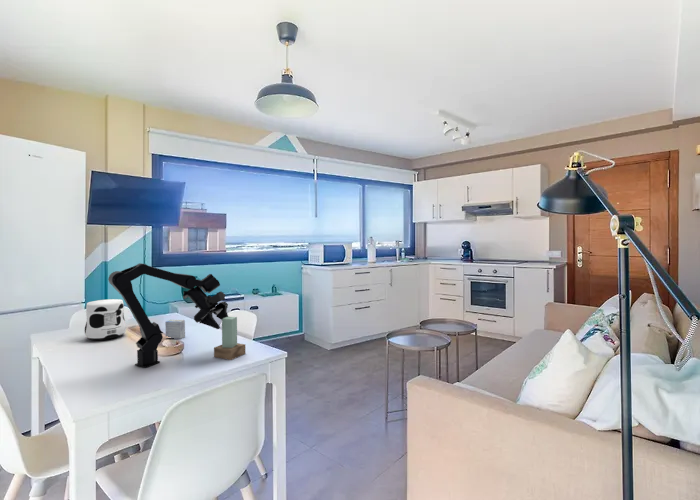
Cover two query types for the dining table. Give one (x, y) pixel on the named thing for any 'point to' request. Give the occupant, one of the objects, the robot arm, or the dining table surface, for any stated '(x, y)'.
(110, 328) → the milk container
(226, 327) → the tall green block
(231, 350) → the walnut block
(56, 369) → the dining table surface
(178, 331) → the medicine box
